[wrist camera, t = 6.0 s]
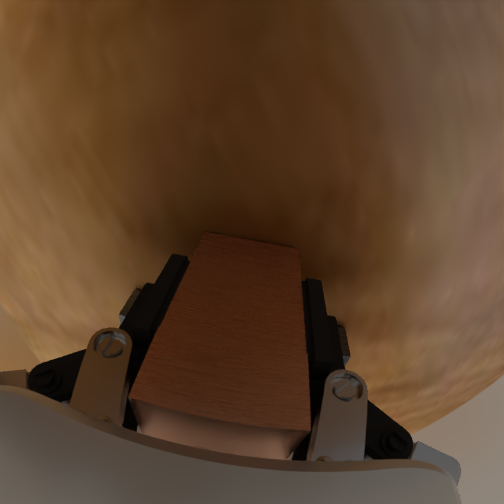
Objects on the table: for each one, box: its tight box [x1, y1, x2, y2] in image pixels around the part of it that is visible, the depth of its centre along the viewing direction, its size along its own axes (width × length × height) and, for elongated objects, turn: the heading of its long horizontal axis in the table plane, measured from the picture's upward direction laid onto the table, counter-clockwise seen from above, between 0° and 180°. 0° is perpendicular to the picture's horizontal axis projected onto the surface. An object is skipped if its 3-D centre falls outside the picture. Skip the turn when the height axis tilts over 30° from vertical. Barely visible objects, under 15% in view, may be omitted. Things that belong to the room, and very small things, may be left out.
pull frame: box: [119, 232, 351, 460], centre depth 13 cm, size 17×11×8 cm, turn 171°
